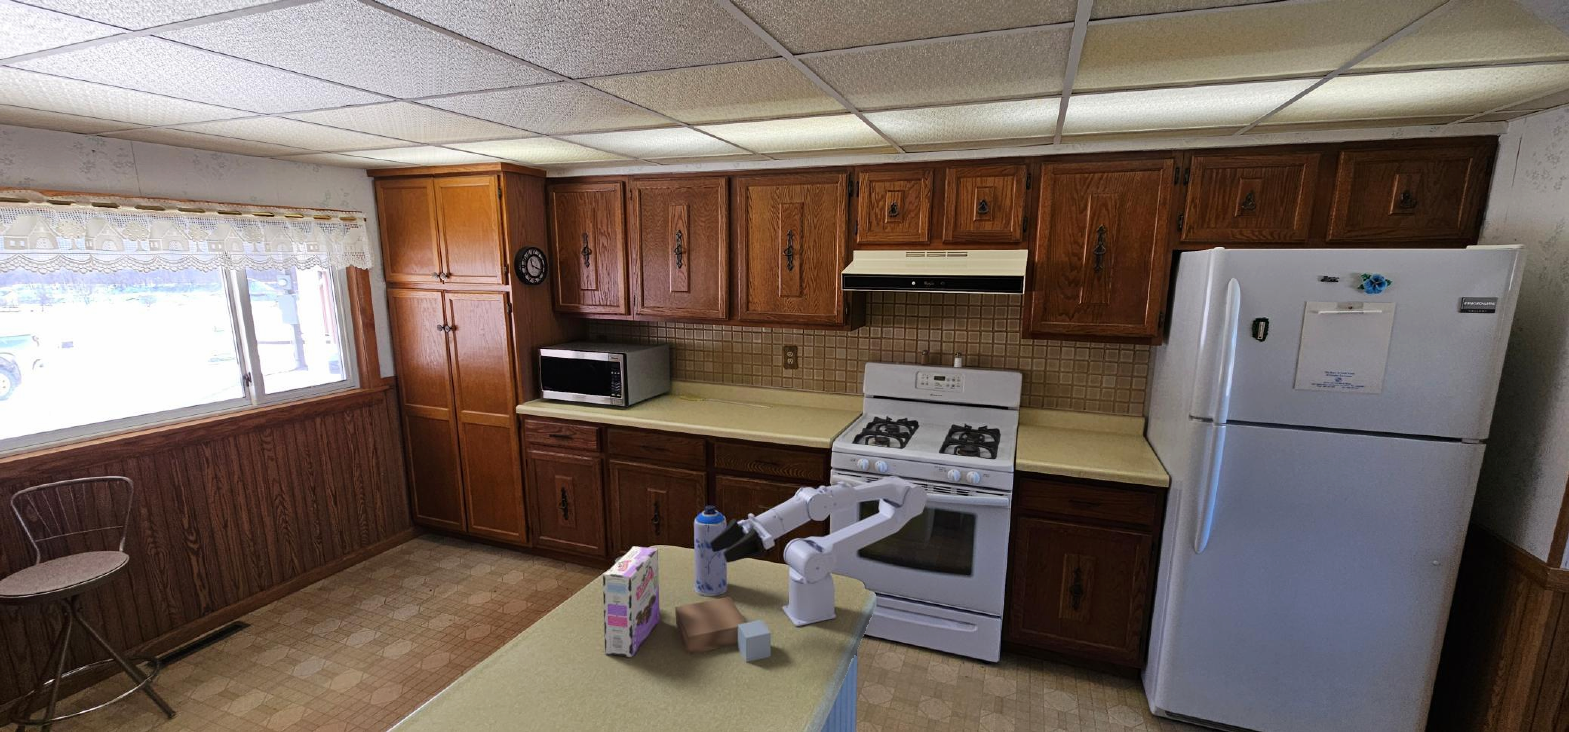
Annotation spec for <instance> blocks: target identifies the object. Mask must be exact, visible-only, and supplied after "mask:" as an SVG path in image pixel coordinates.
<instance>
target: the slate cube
mask: <svg viewBox="0 0 1569 732" xmlns="http://www.w3.org/2000/svg"><path fill="white" fill-rule="evenodd" d="M771 634H772V633H771V631H770V630H769V628H768V626H767V625H766V624H765V622H764V620H763V619H758V620H754V621H749V622H746V623H743V624H739V625H738V644H737V650H738V651H739V653H740V655H741V656H742V658H743V660H744V661H745V663H749V662H754V661H757V660H762V659H767V658H770V657H771V653H772V649H771V647H772V646H771V644H772V643H771V641H772V640H771V637H772V636H771Z"/></svg>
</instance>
